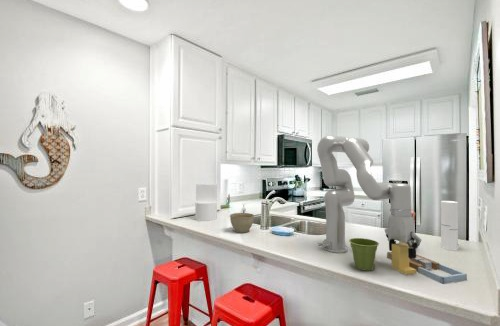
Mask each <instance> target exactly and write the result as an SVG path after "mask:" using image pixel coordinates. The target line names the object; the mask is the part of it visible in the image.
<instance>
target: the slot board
mask: <svg viewBox="0 0 500 326" xmlns="http://www.w3.org/2000/svg"><path fill="white" fill-rule="evenodd" d="M386 256H387V257H386V258H388V259H389V260H391V261H392V251H387V253H386ZM416 256H417V257H420V258H422V259H423V260H424V259H425V260H427V261H430V262H432V270H428V271H431V272H432V271H438V270H439V264H440V263H439V262H436V261H434V260H432V259H429V258H427V257H425V256H422V255H419V254H417V253H416ZM409 267H411V268H414V269H416V270H417V273H418V267H421V268H423V265H421V264H418V263H416V262H414V261H411V259H410V258H409ZM439 271H440V270H439Z"/></svg>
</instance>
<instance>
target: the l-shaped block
mask: <svg viewBox="0 0 500 326" xmlns="http://www.w3.org/2000/svg"><path fill="white" fill-rule="evenodd" d="M408 248H409V246H408V245H405V244H403V243H399V242H398V243H397V242H396V244H392V251H391V252H392V260H391V268H392V269H394V270H396V271H397V272H399V273H402V274H403V275H406V276H407V275H415V274H417V273H418V272H417V270H416V269H414V268H411V267H409V257H408Z"/></svg>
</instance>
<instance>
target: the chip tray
mask: <svg viewBox="0 0 500 326" xmlns="http://www.w3.org/2000/svg"><path fill="white" fill-rule="evenodd" d="M439 271H442V272H444V273H447V274H449V275H443V276H442V275H440V274H438V273H435V272H433V271H432V270H431V271H428V270H426V269H424V268H421V267H418V272H417V273H418V274H421V275H423V276H425V277H426V278H430V279H431V280H434V281H435V282H438V283H439V284H442V285H443V284H449V283H450V284H451V283H457V282H463V281H464V282H465V281H467V280H468V273H465V272H462V271H460V270H457V269H455V268H452V267H450V266H447V265H444V264H442V263H439Z"/></svg>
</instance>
